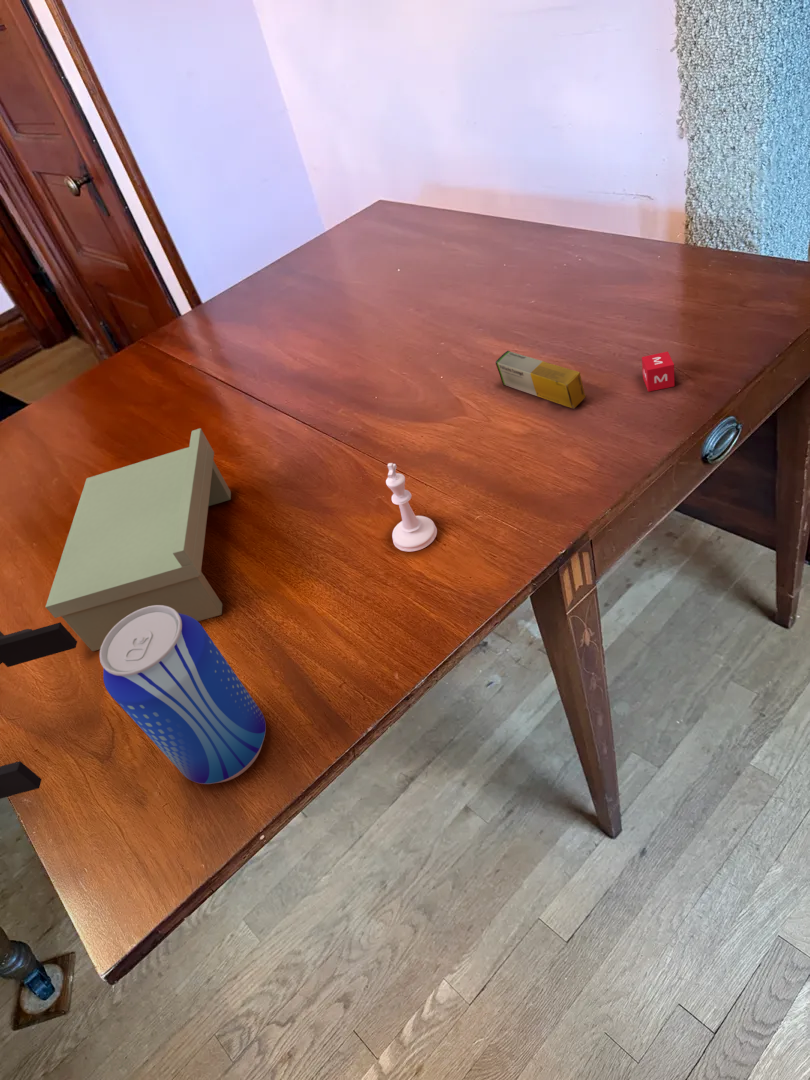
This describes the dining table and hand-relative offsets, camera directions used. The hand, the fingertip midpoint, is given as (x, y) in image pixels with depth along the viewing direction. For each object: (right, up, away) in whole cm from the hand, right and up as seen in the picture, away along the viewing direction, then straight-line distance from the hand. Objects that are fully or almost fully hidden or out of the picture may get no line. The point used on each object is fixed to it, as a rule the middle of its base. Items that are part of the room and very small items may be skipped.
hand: (51, 698), depth 60 cm
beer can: (+12, -6, +7) cm, 16 cm away
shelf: (0, +10, +29) cm, 30 cm away
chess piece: (+30, +13, +21) cm, 39 cm away
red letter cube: (+59, +31, +29) cm, 73 cm away
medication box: (+46, +31, +34) cm, 65 cm away
